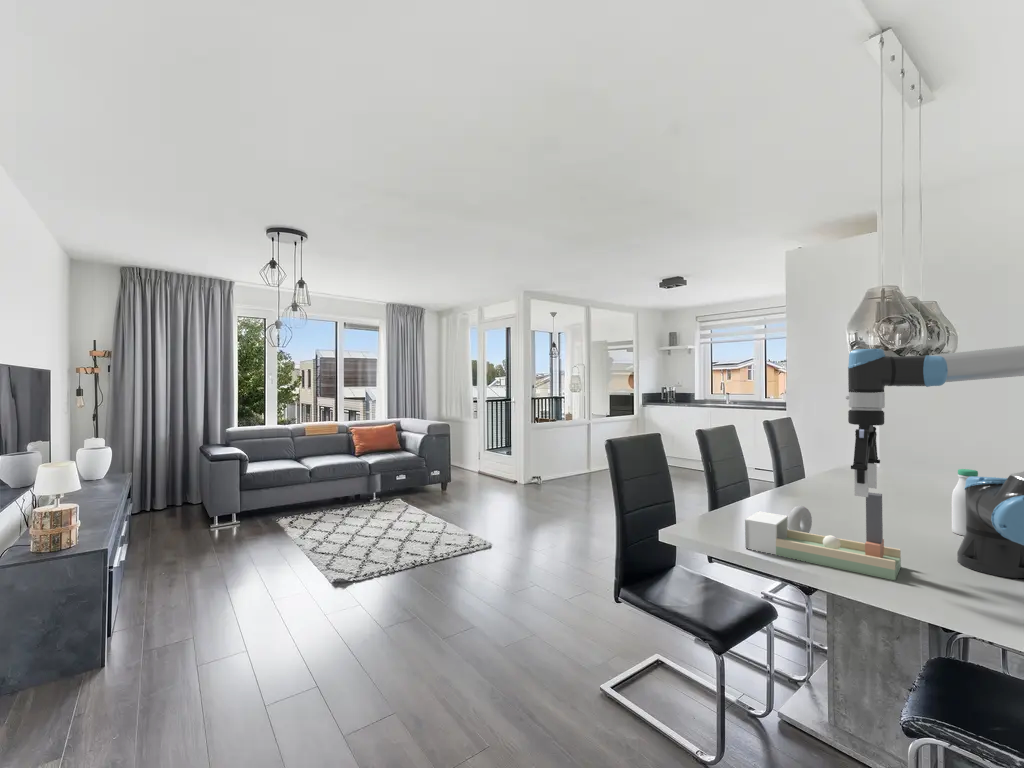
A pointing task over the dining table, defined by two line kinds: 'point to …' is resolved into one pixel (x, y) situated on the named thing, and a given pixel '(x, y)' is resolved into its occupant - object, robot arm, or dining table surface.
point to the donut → (800, 519)
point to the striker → (874, 526)
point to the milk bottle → (960, 502)
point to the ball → (831, 542)
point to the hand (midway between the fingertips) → (865, 491)
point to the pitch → (816, 547)
